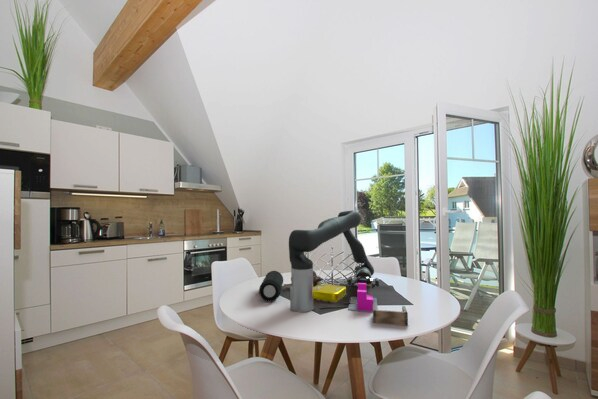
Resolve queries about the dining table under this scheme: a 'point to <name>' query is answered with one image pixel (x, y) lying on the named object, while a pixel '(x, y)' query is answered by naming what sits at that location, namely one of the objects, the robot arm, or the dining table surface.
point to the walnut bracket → (390, 316)
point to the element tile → (328, 292)
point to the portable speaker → (271, 286)
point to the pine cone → (316, 279)
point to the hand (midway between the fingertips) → (363, 285)
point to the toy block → (364, 298)
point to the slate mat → (355, 306)
